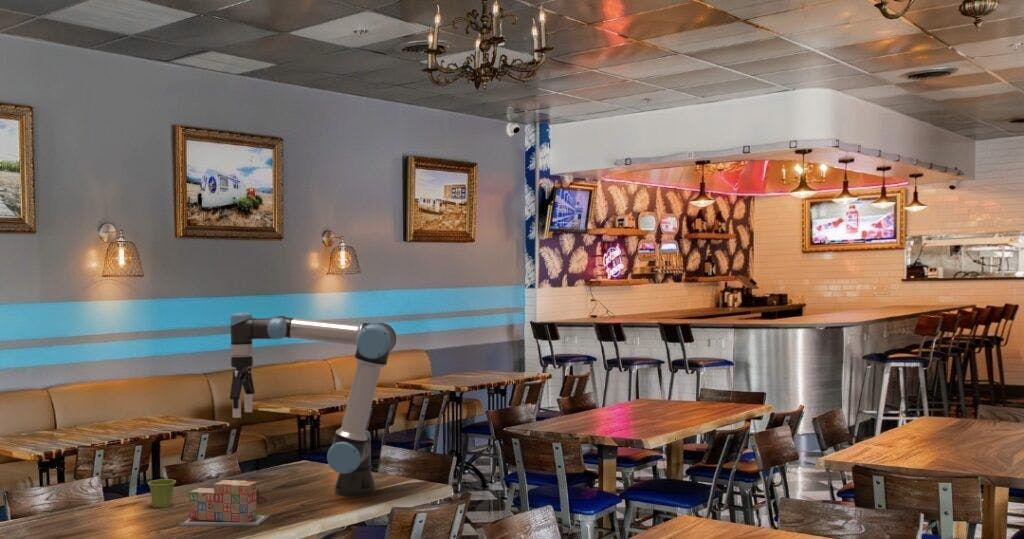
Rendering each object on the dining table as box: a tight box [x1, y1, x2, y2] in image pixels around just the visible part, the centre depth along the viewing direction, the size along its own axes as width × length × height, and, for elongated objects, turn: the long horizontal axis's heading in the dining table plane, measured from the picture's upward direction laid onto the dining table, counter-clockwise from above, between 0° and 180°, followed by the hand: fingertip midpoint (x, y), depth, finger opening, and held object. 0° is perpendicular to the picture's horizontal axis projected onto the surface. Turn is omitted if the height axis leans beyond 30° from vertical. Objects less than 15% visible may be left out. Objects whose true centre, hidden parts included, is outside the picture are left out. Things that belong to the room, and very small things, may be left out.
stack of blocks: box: [188, 479, 258, 523], centre depth 322 cm, size 21×6×12 cm, turn 77°
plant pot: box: [147, 478, 177, 509], centre depth 346 cm, size 9×9×9 cm
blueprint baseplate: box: [178, 514, 271, 528], centre depth 322 cm, size 26×13×1 cm, turn 86°
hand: (242, 414), depth 351 cm, fingers open, 13 cm apart
